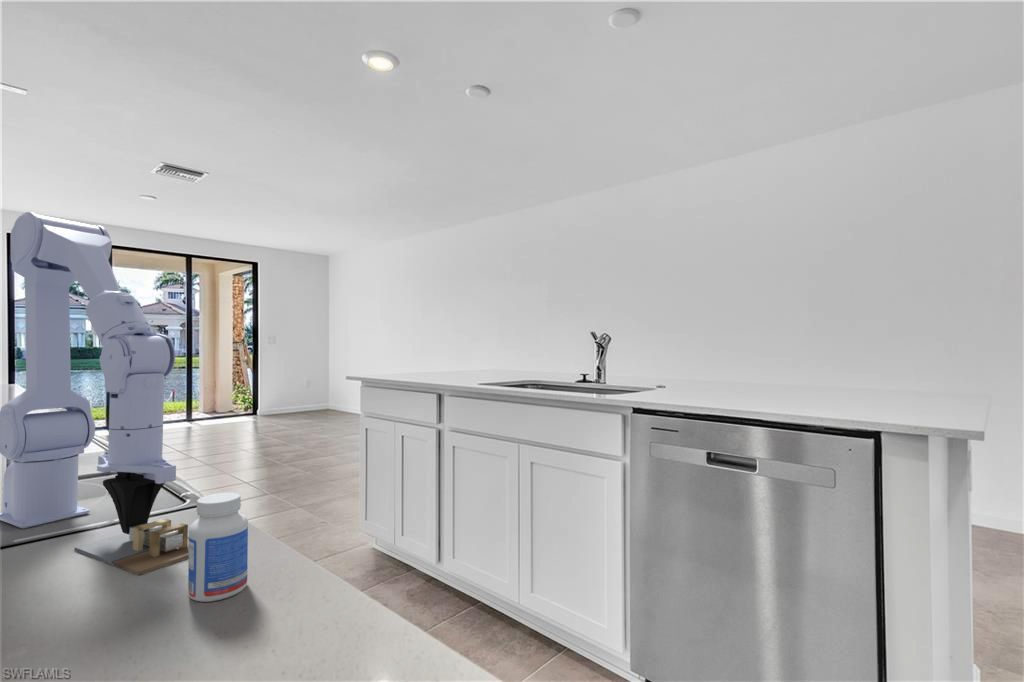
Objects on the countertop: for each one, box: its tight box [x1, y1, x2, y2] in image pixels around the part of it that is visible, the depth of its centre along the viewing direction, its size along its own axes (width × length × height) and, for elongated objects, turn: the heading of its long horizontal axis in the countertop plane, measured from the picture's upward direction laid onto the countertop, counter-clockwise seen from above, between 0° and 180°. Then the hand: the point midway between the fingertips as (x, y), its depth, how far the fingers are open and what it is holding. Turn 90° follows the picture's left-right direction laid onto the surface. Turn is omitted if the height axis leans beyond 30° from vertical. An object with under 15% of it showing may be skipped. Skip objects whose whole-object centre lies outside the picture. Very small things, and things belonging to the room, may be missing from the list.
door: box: [73, 518, 189, 565], centre depth 66 cm, size 9×10×3 cm
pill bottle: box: [187, 492, 249, 603], centre depth 54 cm, size 6×5×10 cm
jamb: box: [112, 522, 189, 576], centre depth 63 cm, size 5×10×3 cm, turn 153°
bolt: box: [129, 522, 183, 552], centre depth 64 cm, size 8×2×2 cm, turn 63°
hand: (134, 531), depth 67 cm, fingers closed
